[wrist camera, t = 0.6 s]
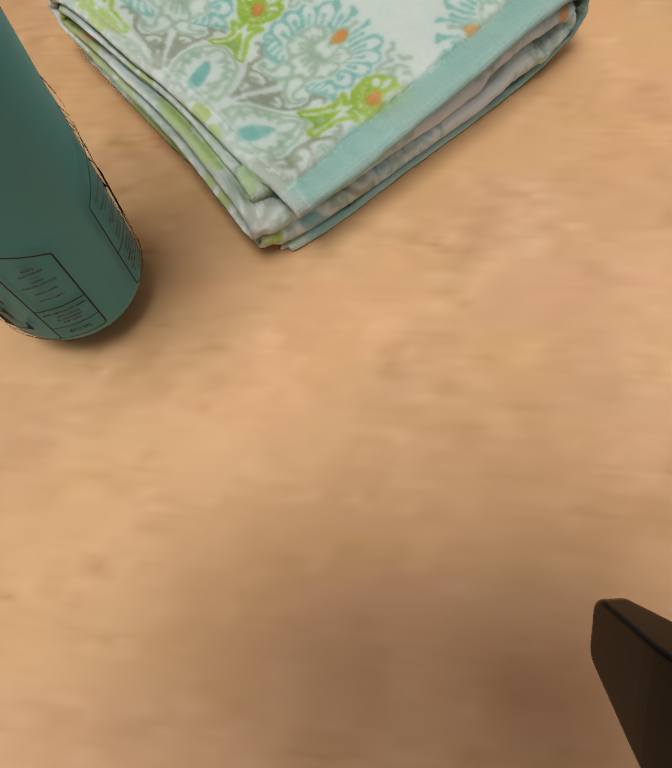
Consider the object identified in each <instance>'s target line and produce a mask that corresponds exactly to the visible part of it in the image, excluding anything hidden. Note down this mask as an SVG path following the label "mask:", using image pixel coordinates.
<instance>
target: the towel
mask: <svg viewBox="0 0 672 768" xmlns="http://www.w3.org/2000/svg"><path fill="white" fill-rule="evenodd" d="M588 3H589V0H50V2H49V3H48V7H49V9H50V11H51V12H52V13H53V14H54V16H55V17H56V19H57V21H58V23H59V25H60V26H61V28H62V29H63V30H64V31H65V32H66V33H67V34H68V35H69V36H70V37H71V38H72V39H73V40H74V41H75V42H76V43H77V44H78V45H79V46H80V47H81V48H82V49H83V50H84V54H85V56H86V58H87V59H88V60H89V62H90V63H91V64H92V65H93V66H94V67H96V68H98V69H99V71H100V72H101V74H102V75H103V76H105V77H106V78H107V79H108V80H109V81H110V82H111V83H112V84H113V85H114V86H115V87H116V88H117V89H118V90H119V91H120V92H121V93H122V94H123V96H124V97H125V98H126V99H127V100H128V101H129V102H130V103H131V104H132V105H133V106H134V107H135V108H136V110H137V111H138V112H139V113H140V114H141V115H142V116H143V117H144V118H145V119H146V120H147V121H148V122H149V123H150V124H151V125H152V126H153V127H154V129H155V130H156V131H157V132H158V133H159V134H160V135H161V136H162V137H163V138H164V139H165V140H166V141H167V142H168V143H169V144H170V145H171V146H172V147H173V148H174V149H175V150H176V151H178V152H179V153H180V154H181V155H182V156H183V157H184V158H185V159H186V160H187V161H188V162H189V163H191V164H192V165H193V166H194V168H195V169H196V170H197V172H198V173H199V174H200V176H201V177H202V178H203V179H204V181H205V182H206V183H207V185H208V186H209V187H210V189H211V190H212V191H213V193H214V194H215V196H216V197H217V198H218V199H219V201H220V202H221V203H222V204H223V205H224V207H225V208H226V209H227V211H228V212H229V213H230V215H231V216H232V217H233V219H234V220H235V221H236V222H237V224H238V225H239V226H240V228H241V229H242V230H243V232H244V233H245V234H247V235H248V236H249V238H250V239H252V240H254V241H255V243H256V244H257V246H258V247H260V248H264V247H267V246H269V245H272V244H275V245H276V244H278V245H280V244H281V247H280V249H281V250H283V249H285V248H289V249H290V250H292V251H295V250H297V249H299V248H301V247H303V246H304V245H306V244H307V243H309V242H310V241H312V240H313V239H315V238H317V237H319V236H320V235H322V234H324V233H325V232H327V231H328V230H330V229H331V228H333V227H334V226H336V225H337V224H339V223H340V222H341V221H343V220H344V219H346V218H347V217H349V216H350V215H351V214H353V213H354V212H355V211H357V210H358V209H359V208H360V207H362V206H363V205H364V204H366V203H367V202H368V201H369V200H371V199H372V198H373V197H374V196H376V195H377V194H378V193H380V192H381V191H382V190H384V189H385V188H387V187H388V186H389V185H390V184H392V183H393V182H394V181H396V180H397V179H398V178H399V177H400V176H401V175H403V174H404V173H406V172H407V171H409V170H410V169H411V168H413V167H414V166H416V165H417V164H418V163H420V162H421V161H423V160H424V159H425V158H427V157H428V156H429V155H431V154H432V153H434V152H435V151H436V150H438V149H439V148H440V147H442V146H443V145H444V144H446V143H447V142H448V141H450V140H451V139H453V138H454V137H455V136H457V135H458V134H459V133H461V132H462V131H464V130H465V129H467V128H468V127H469V126H470V125H472V124H473V123H474V122H475V121H477V120H478V119H479V118H481V117H482V116H483V115H484V114H486V113H487V112H488V111H490V110H491V109H493V108H494V107H496V106H497V105H498V104H500V103H501V102H502V101H503V100H505V99H506V98H507V97H508V96H510V95H511V94H512V93H513V92H514V91H516V90H517V89H518V88H519V87H521V86H522V85H523V84H524V83H526V82H527V81H528V80H529V79H530V78H531V77H532V76H533V75H534V74H536V73H537V72H538V71H539V70H540V69H541V68H543V67H544V66H545V65H546V64H547V63H548V62H549V60H550V59H551V58H552V57H553V56H554V55H555V54H556V53H557V52H558V51H559V50H560V49H561V48H562V47H563V46H564V45H565V44H566V43H567V42H568V41H569V40H570V39H571V38H572V37H573V35H574V34H575V33H576V31H577V30H578V28H579V26H580V25H581V23H582V21H583V20H584V18H585V17H586V15H587V12H588Z"/></svg>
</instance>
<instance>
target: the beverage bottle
mask: <svg viewBox="0 0 672 768" xmlns="http://www.w3.org/2000/svg"><path fill="white" fill-rule="evenodd" d="M42 79H43V78H42V77H41V76H40V75H39V73H38V71H37V70H36V68H35V66H34V64H33V63H32V61H31V59H30V57H29V56H28V54H27V52H26V50H25V49H24V47H23V45H22V43H21V42H20V40H19V38H18V36H17V35H16V33H15V31H14V29H13V28H12V26H11V24H10V22H9V21H8V19H7V17H6V16H5V14H4V12H3V10H2V9H1V7H0V317H1V318H2V319H4V320H5V321H6V322H7V323H9V324H12V325H14V326H16V327H17V328H19V329H21V330H22V331H24V332H25V333H29V334H31V335H34V336H38V337H42V338H41V339H45V338H47V339H54V340H69V339H76V338H81V337H85V336H88V335H91V334H93V333H96V332H98V331H100V330H102V329H104V328H105V327H107V326H109V325H110V324H111V323H113V322H114V321H115V320H117V319H118V318H119V317H120V316H121V315H122V314H123V313H124V312H125V310H126V309H127V308H128V307H129V305H130V304H131V302H132V301H133V299H134V297H135V295H136V292H137V289H138V286H139V282H140V276H141V272H142V268H141V264H140V255H139V254H140V251H139V250H138V247H137V243H136V242H135V238H133V236H132V234H131V231H129V229H128V227H127V226H126V224H125V222H124V220H125V219H126V217H125V216H124V217H125V219H124V218H123V216H121V215H120V214H121V213H122V212H123V210H122V209H121V207H120V205H119V203H118V201H117V200H116V198H115V196H114V194H113V192H112V190H111V189H110V187H109V185H108V183H107V181H106V180H105V178H104V176H103V174H102V172H101V171H100V169H99V168H98V167H97V166H96V167H97V169H98V170H99V172H100V174H101V176H102V178H103V179H104V181H105V183H106V185H107V186H106V185H105V184H104V182H103V181H102V180H101V178H100V177H99V175H98V174H97V173H96V171H95V169H94V167H93V165H92V164H91V162H92V161H91V160H90V159H89V158H88V157H87V155H86V152H85V151H84V150H85V149H84V150H83V148H82V146H81V144H80V143H81V142H80V143H79V140H78V139H77V137H76V136H77V135H75V134H76V133H75V134H74V132H73V130H74V129H73V128H71V127H70V125H69V123H70V122H69V123H68V121H67V119H66V118H65V116H64V113H63V112H62V111H61V109H62V108H61V107H59V105H58V104H57V102H56V100H55V99H54V97H53V96H52V94H51V93H50V91H49V90H48V89H47V87H46V85H45V84H44V82H43V80H44V79H43V80H42ZM44 81H45V80H44ZM45 82H46V81H45ZM46 83H47V82H46ZM48 86H49V85H48ZM49 87H50V86H49ZM50 88H51V87H50ZM51 89H52V88H51ZM52 90H53V89H52ZM54 93H55V92H54ZM55 94H56V93H55ZM56 95H57V94H56ZM58 98H59V97H58ZM60 101H61V100H60ZM63 105H64V104H63ZM60 108H61V109H60ZM65 108H66V107H65ZM63 111H64V110H63ZM66 114H67V113H66ZM69 115H70V114H69ZM69 115H68V116H69ZM66 117H67V116H66ZM69 120H70V119H69ZM72 123H73V122H72ZM70 124H71V123H70ZM72 126H73V125H72ZM74 126H75V125H74ZM74 126H73V127H74ZM74 128H75V127H74ZM72 129H73V130H72ZM75 130H76V131H78V130H77V128H75ZM76 131H75V132H76ZM78 135H79V132H78ZM78 138H79V137H78ZM80 138H81V137H80ZM81 141H82V139H81ZM82 142H83V141H82ZM82 145H83V143H82ZM84 145H85V144H84ZM83 147H85V148H86V147H87V146H83ZM86 149H87V148H86ZM87 151H88V150H87ZM89 154H91V153H89ZM90 156H91V155H90ZM91 158H92V157H91ZM92 160H93V159H92ZM90 161H91V162H90ZM93 161H94V160H93ZM93 163H94V164H95V162H93ZM95 165H96V164H95ZM105 186H106V187H108V188H109V190H110V192H111V194H112V196H113V197H114V199H115V201H116V203H117V204H118V206H119V207H118V208H119V209H120V210H121V213H120V212H119V211H118V210H117V208H116V206H115V204H114V203H113V201H112V199H111V197H110V196H109V194H108V192H107V189H106V187H105ZM123 213H124V212H123ZM123 215H125V214H123ZM123 219H124V220H123ZM125 221H126V222H127V220H125ZM127 223H128V222H127ZM128 224H129V223H128ZM129 226H130V225H129ZM130 228H131V227H130ZM132 229H133V228H132ZM132 229H131V230H132ZM133 233H134V232H133ZM134 235H135V234H134ZM135 237H136V236H135ZM136 239H137V238H136ZM138 242H139V240H138ZM139 244H140V243H139ZM140 247H141V246H140ZM141 253H142V250H141ZM142 262H143V259H142ZM4 323H5V322H4ZM9 326H10V325H9ZM11 327H12V326H10V328H11ZM13 328H14V327H13ZM17 328H16V329H17ZM19 329H18V330H19ZM17 332H18V331H17ZM22 334H23V333H22ZM27 336H29V335H27ZM31 337H33V336H31ZM35 338H37V337H35Z"/></svg>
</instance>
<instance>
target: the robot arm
mask: <svg viewBox="0 0 672 768" xmlns="http://www.w3.org/2000/svg"><path fill="white" fill-rule="evenodd" d="M591 656H592V660H593V663H594V665H595V668H596V670H597V672H598V674H599V677H600V679H601V681H602V683H603V686H604V688H605V690H606V692H607V695H608V697H609V699H610V701H611V704H612V706H613V708H614V710H615V713H616V715H617V717H618V719H619V722H620V724H621V726H622V728H623V731H624V733H625V735H626V737H627V740H628V742H629V744H630V746H631V749H632V751H633V753H634V755H635V757H636V759H637V761H638V763H639V765H640V767H641V768H672V622H671V621H669V620H667V619H665V618H663V617H661V616H659V615H657V614H655V613H653V612H651V611H649V610H647V609H645V608H643V607H641V606H639V605H637V604H635V603H633V602H631V601H629V600H627V599H624V598H616V599H601V600H599V601H598V602H597V603H596V604H595V607H594V614H593V624H592V635H591Z"/></svg>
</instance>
